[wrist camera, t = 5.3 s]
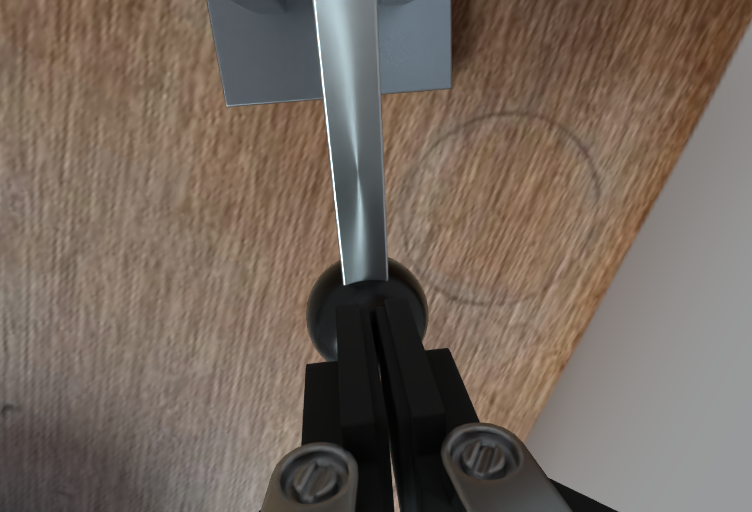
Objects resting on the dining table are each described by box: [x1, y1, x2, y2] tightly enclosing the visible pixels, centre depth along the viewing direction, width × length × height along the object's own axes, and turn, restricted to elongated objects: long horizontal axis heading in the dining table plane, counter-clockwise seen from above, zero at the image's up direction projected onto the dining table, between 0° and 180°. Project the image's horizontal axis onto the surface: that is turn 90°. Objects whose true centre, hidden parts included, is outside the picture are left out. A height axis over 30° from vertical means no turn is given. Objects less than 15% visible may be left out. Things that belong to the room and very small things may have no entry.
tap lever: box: [306, 0, 428, 374], centre depth 10 cm, size 13×3×3 cm, turn 4°
